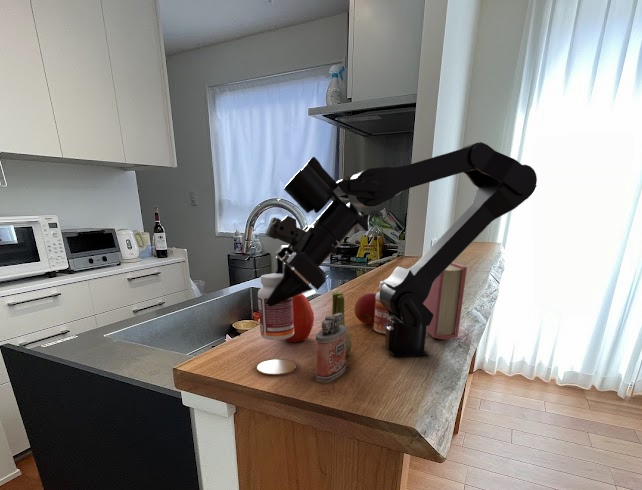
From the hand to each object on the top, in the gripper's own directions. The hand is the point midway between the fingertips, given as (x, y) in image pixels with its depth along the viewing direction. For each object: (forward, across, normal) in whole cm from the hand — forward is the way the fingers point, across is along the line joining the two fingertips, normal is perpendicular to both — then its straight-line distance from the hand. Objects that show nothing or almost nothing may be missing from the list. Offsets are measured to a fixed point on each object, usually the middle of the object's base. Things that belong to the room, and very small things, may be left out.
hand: (266, 300), depth 67 cm
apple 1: (+3, -12, +13) cm, 18 cm away
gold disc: (+7, +4, +9) cm, 12 cm away
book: (-23, -11, +28) cm, 38 cm away
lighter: (+1, +8, +15) cm, 17 cm away
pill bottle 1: (+4, 0, +6) cm, 7 cm away
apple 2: (-12, -16, +26) cm, 33 cm away
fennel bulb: (-1, 0, +18) cm, 18 cm away
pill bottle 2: (-12, -13, +28) cm, 33 cm away
